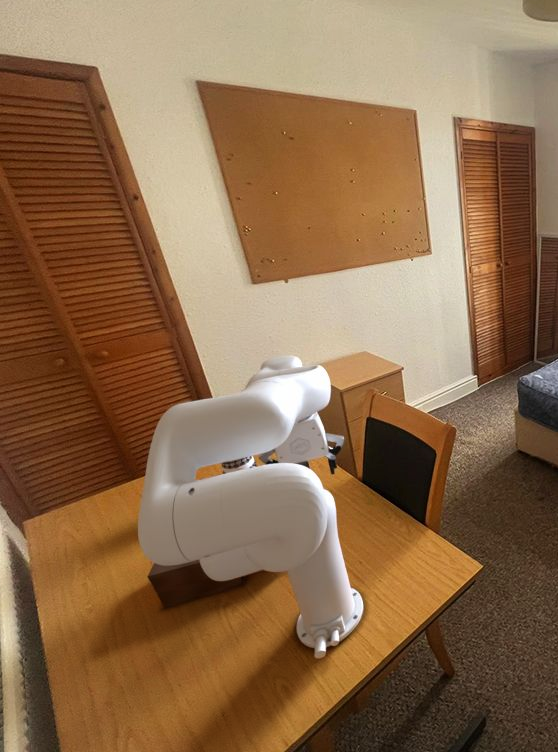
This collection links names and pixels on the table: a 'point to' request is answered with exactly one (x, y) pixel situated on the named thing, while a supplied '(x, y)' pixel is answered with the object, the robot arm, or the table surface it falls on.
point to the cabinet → (186, 583)
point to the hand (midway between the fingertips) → (310, 476)
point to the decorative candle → (238, 464)
